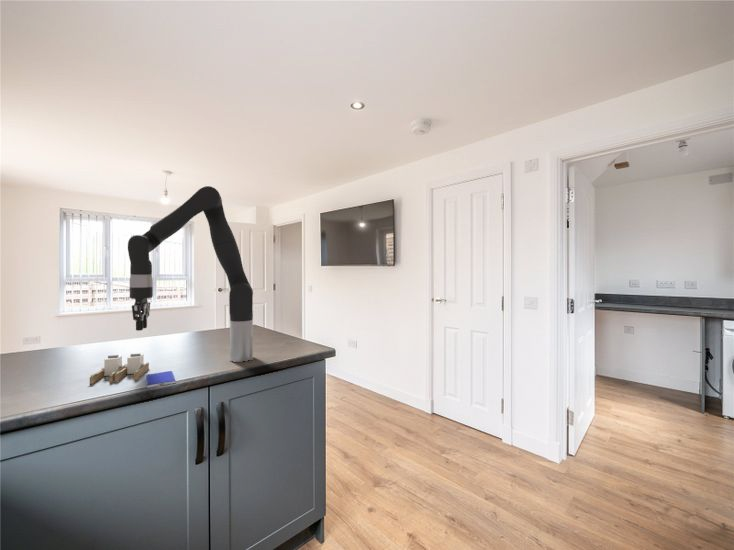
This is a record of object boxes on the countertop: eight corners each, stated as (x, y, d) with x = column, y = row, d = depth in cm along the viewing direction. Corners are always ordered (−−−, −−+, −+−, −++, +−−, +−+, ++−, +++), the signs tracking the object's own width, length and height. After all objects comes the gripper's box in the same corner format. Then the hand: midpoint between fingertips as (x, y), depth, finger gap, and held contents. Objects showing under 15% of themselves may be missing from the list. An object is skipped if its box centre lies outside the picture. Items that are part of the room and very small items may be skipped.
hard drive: (145, 374, 117) (147, 384, 107) (172, 370, 122) (175, 379, 112) (145, 378, 117) (147, 389, 107) (172, 374, 122) (175, 384, 112)
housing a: (148, 368, 127) (148, 361, 127) (136, 380, 114) (136, 372, 114) (129, 370, 125) (129, 363, 125) (114, 382, 111) (114, 374, 111)
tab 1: (121, 371, 122) (121, 353, 122) (117, 374, 118) (117, 356, 118) (109, 372, 121) (109, 354, 121) (104, 375, 117) (104, 357, 117)
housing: (127, 370, 125) (127, 363, 124) (112, 382, 111) (112, 374, 111) (107, 372, 122) (107, 364, 122) (89, 384, 109) (89, 376, 109)
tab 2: (143, 369, 125) (143, 352, 124) (140, 373, 121) (140, 354, 121) (131, 370, 123) (131, 353, 123) (127, 374, 119) (127, 355, 119)
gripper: (146, 286, 123) (146, 332, 123) (157, 285, 136) (157, 325, 136) (123, 287, 120) (123, 333, 120) (136, 285, 134) (136, 326, 134)
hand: (141, 329), depth 128 cm, fingers open, 4 cm apart
